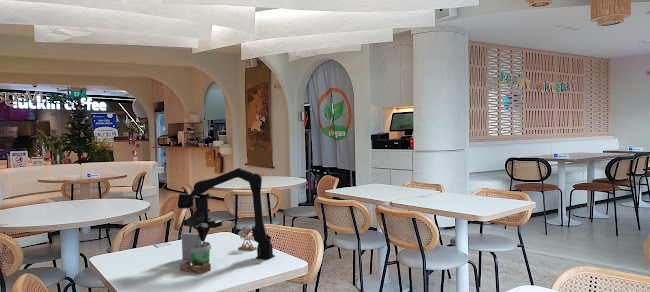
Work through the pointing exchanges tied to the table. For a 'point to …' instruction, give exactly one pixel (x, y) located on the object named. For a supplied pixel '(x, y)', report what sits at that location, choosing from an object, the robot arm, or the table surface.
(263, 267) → the table surface
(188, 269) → the frame
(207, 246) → the food container
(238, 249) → the lattice stand
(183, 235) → the sliding gate
